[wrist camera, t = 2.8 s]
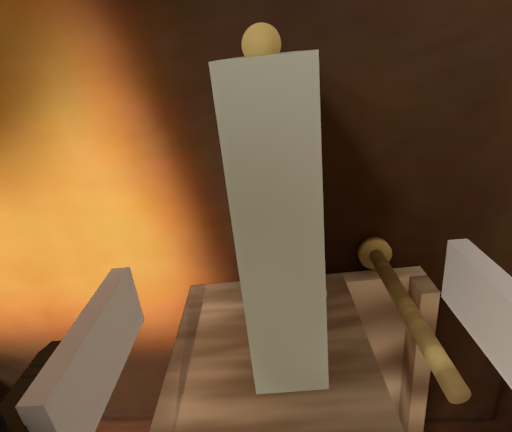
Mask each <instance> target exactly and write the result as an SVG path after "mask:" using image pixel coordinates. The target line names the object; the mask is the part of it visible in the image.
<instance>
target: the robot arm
mask: <svg viewBox="0 0 512 432" xmlns="http://www.w3.org/2000/svg"><path fill="white" fill-rule="evenodd" d="M441 297H442V298H443V300H444V301H445V302H446V304H447V305H448V306H449V308H450V309H451V310H452V312H453V313H454V314H455V315H456V317H457V318H458V319H459V321H460V322H461V323H462V325H463V326H464V327H465V329H466V330H467V331H468V333H469V334H470V335H471V337H472V338H473V339H474V340H475V342H476V343H477V344H478V346H479V347H480V348H481V350H482V351H483V352H484V354H485V355H486V356H487V358H488V359H489V360H490V362H491V363H492V364H493V365H494V367H495V368H496V369H497V371H498V372H499V373H500V375H501V376H502V377H503V379H504V380H505V381H506V383H507V384H508V385H509V387H510V388H511V389H512V277H511V276H510V275H509V274H508V273H506V272H505V271H504V270H503V269H502V268H501V267H499V266H498V265H497V264H496V263H495V262H494V261H493V260H491V259H490V258H489V257H488V256H487V255H486V254H485V253H483V252H482V251H481V250H480V249H479V248H478V247H477V246H475V245H474V244H473V243H472V242H471V241H470V240H468V239H456V240H448V244H447V252H446V260H445V269H444V277H443V285H442V294H441ZM143 322H144V317H143V313H142V310H141V306H140V302H139V299H138V295H137V292H136V288H135V284H134V281H133V277H132V274H131V270H130V267H127V268H115V269H111V271H110V272H109V274H108V275H107V277H106V278H105V279H104V281H103V282H102V284H101V285H100V287H99V288H98V289H97V291H96V292H95V294H94V295H93V297H92V298H91V299H90V301H89V302H88V304H87V305H86V307H85V308H84V309H83V311H82V312H81V314H80V315H79V316H78V318H77V319H76V321H75V322H74V324H73V325H72V326H71V328H70V329H69V331H68V332H67V334H66V335H65V336H64V338H63V339H62V341H52V342H51V343H49V344H48V345H47V346H46V347H45V348H43V349H42V350H41V351H40V352H38V354H37V355H36V356H35V358H34V359H33V360H32V362H31V363H30V364H29V367H28V368H26V370H25V371H24V372H23V374H22V375H21V378H20V379H18V380H17V382H16V383H15V384H14V386H13V387H12V388H11V389H10V391H9V392H8V393H7V395H6V396H5V397H4V399H3V400H2V401H1V403H0V432H95V430H96V428H97V426H98V424H99V421H100V419H101V417H102V415H103V412H104V410H105V408H106V405H107V403H108V401H109V399H110V396H111V394H112V392H113V390H114V387H115V385H116V383H117V381H118V378H119V376H120V374H121V371H122V369H123V367H124V365H125V362H126V360H127V358H128V356H129V353H130V351H131V349H132V347H133V344H134V342H135V340H136V337H137V335H138V333H139V331H140V328H141V326H142V324H143Z"/></svg>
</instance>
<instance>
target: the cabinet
mask: <svg viewBox="0 0 512 432" xmlns="http://www.w3.org/2000/svg"><path fill="white" fill-rule="evenodd" d="M357 255H358V258H359V260H360V262H361V263H362V265H363V266H365V267H366V268H369V269H376V270H367V271H355V272H344V273H332V274H325V277H326V290H327V297H326V310H327V343H328V376H329V389H323V390H310V391H296V392H282V393H268V394H256V389H255V382H254V375H253V368H252V362H251V355H250V348H249V341H248V334H247V327H246V320H245V313H244V306H243V299H242V292H241V285H240V281H239V282H228V283H216V284H204V285H193V286H191V287H190V290H189V294H188V297H187V301H186V304H185V308H184V311H183V315H182V318H181V322H180V325H179V329H178V333H177V336H176V340H175V343H174V347H173V350H172V354H171V357H170V361H169V364H168V368H167V371H166V375H165V378H164V382H163V385H162V389H161V392H160V396H159V399H158V403H157V407H156V410H155V414H154V417H153V421H152V424H151V428H150V431H149V432H423V429H424V421H425V412H426V404H427V396H428V388H429V380H430V372H431V371H432V372H433V374H434V376H435V378H436V380H437V382H438V383H439V385H440V387H441V389H442V391H443V392H444V394H445V396H446V398H447V400H448V401H449V402H450V403H452V404H461V403H464V402H466V401H467V400H468V399H469V398H470V397H471V391H470V390H469V388H468V386H467V385H466V383H465V382H464V380H463V379H462V377H461V375H460V374H459V372H458V371H457V369H456V368H455V366H454V364H453V363H452V361H451V360H450V358H449V357H448V355H447V353H446V352H445V350H444V349H443V347H442V346H441V344H440V342H439V341H438V339H437V338H436V336H435V332H436V323H437V315H438V307H439V299H440V291H439V290H438V289H437V287H436V286H435V285H434V283H433V282H432V281H431V280H430V278H429V277H428V276H427V274H426V273H425V272H424V271H423V269H422V268H421V267H420V266H413V267H402V268H392V267H391V265H390V264H389V261H390V260H391V257H392V249H391V247H390V246H389V244H388V243H387V242H386V241H385V240H384V239H382V238H380V237H370V238H367V239H366V240H364V241H363V242H362V243H361V244H360V245H359V247H358V250H357Z"/></svg>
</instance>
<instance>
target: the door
mask: <svg viewBox="0 0 512 432" xmlns="http://www.w3.org/2000/svg"><path fill="white" fill-rule="evenodd" d="M280 50H281V39H280V36H279V33H278V32H277V30H276V29H275V28H274V27H273V26H271V25H270V24H267V23H256V24H253V25H252V26H250V27H249V28H248V29H247V30H246V32H245V33H244V35H243V38H242V51H243V54H244V56H245V57H237V58H229V59H223V60H217V61H211V62H208V63H209V70H210V77H211V84H212V91H213V98H214V105H215V112H216V119H217V125H218V132H219V139H220V146H221V153H222V160H223V167H224V174H225V181H226V188H227V195H228V202H229V209H230V216H231V223H232V230H233V237H234V243H235V250H236V257H237V264H238V271H239V278H240V285H241V292H242V299H243V306H244V313H245V320H246V327H247V334H248V341H249V348H250V355H251V362H252V368H253V375H254V382H255V389H256V394H268V393H282V392H296V391H310V390H323V389H329V376H328V343H327V310H326V297H327V290H326V277H325V244H324V211H323V178H322V145H321V112H320V79H319V50H305V51H292V52H282V53H280Z"/></svg>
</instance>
